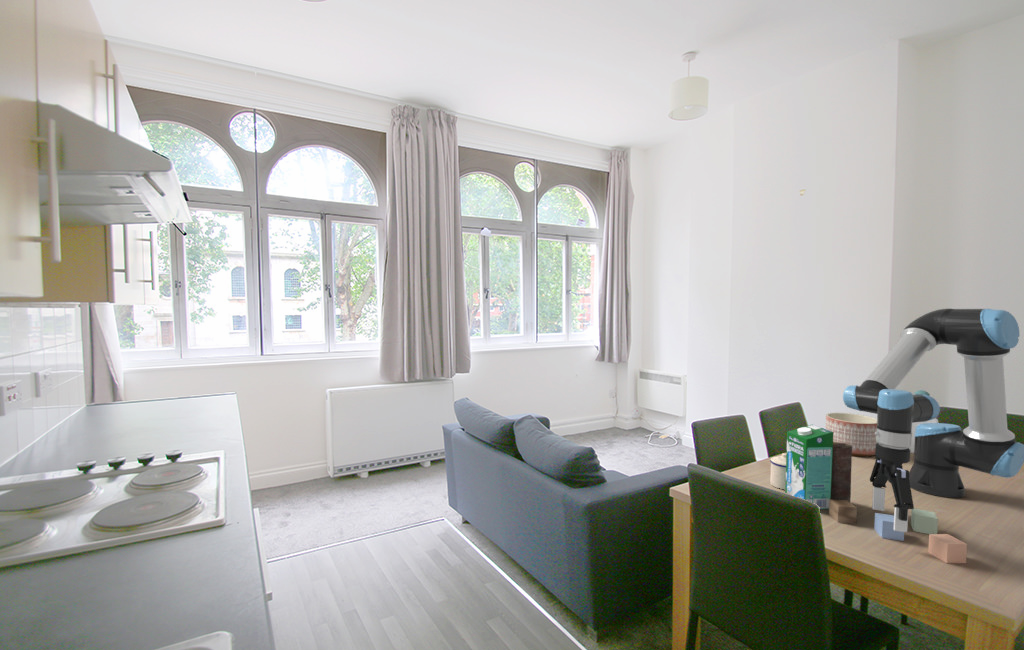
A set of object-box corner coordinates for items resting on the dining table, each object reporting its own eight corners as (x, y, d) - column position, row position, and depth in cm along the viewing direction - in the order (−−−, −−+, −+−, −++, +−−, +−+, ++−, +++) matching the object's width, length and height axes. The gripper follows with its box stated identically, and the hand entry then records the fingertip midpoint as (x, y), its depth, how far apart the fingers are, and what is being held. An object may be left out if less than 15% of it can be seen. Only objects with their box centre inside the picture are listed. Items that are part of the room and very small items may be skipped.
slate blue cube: (895, 532, 131) (896, 515, 131) (903, 541, 127) (904, 523, 126) (874, 529, 133) (875, 512, 133) (881, 538, 128) (882, 520, 128)
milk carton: (784, 497, 154) (787, 424, 153) (810, 497, 155) (812, 423, 154) (804, 510, 145) (806, 432, 144) (830, 509, 146) (833, 431, 145)
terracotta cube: (946, 552, 121) (947, 534, 121) (966, 563, 116) (967, 544, 116) (928, 552, 121) (929, 534, 121) (946, 563, 116) (947, 544, 116)
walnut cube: (846, 516, 141) (847, 500, 141) (856, 523, 136) (856, 507, 136) (828, 515, 142) (829, 499, 142) (837, 522, 137) (838, 506, 137)
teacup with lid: (794, 493, 158) (795, 460, 157) (765, 485, 165) (766, 453, 164) (805, 484, 166) (806, 452, 165) (777, 477, 173) (778, 446, 172)
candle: (842, 510, 145) (844, 448, 144) (817, 501, 151) (819, 441, 150) (855, 505, 148) (857, 444, 147) (830, 497, 155) (833, 438, 154)
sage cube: (933, 528, 134) (934, 512, 133) (937, 536, 129) (937, 518, 129) (910, 524, 136) (911, 507, 136) (913, 531, 132) (914, 514, 132)
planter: (838, 456, 196) (840, 422, 195) (816, 443, 215) (818, 411, 214) (889, 459, 193) (890, 424, 192) (862, 445, 211) (863, 413, 211)
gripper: (859, 432, 141) (855, 500, 142) (897, 457, 118) (893, 538, 119) (888, 435, 139) (884, 503, 140) (934, 461, 115) (929, 543, 116)
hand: (888, 519), depth 129 cm, fingers open, 13 cm apart
